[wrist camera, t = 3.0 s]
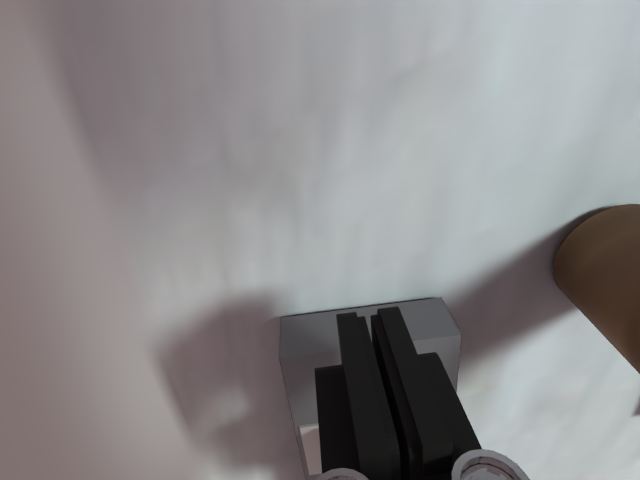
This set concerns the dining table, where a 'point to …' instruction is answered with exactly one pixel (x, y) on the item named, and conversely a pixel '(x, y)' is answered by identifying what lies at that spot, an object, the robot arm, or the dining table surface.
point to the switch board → (324, 350)
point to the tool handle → (606, 275)
